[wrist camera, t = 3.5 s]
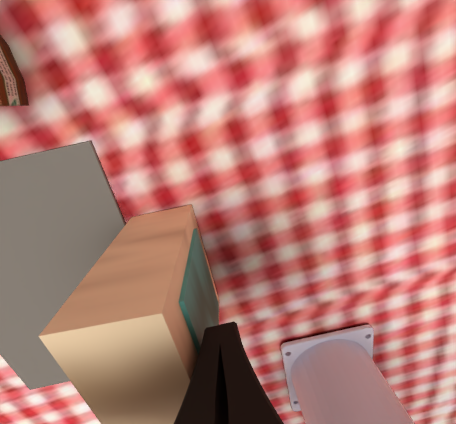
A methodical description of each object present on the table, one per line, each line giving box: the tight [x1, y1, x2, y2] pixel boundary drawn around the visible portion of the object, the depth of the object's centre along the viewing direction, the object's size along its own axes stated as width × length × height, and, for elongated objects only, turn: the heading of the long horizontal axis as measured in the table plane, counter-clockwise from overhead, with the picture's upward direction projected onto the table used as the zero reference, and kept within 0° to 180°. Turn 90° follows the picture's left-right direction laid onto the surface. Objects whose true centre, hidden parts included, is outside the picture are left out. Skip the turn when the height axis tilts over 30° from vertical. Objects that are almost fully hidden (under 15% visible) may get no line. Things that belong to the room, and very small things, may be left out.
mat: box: [0, 141, 126, 390], centre depth 17 cm, size 18×13×1 cm
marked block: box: [39, 205, 219, 424], centre depth 13 cm, size 8×4×9 cm, turn 12°
